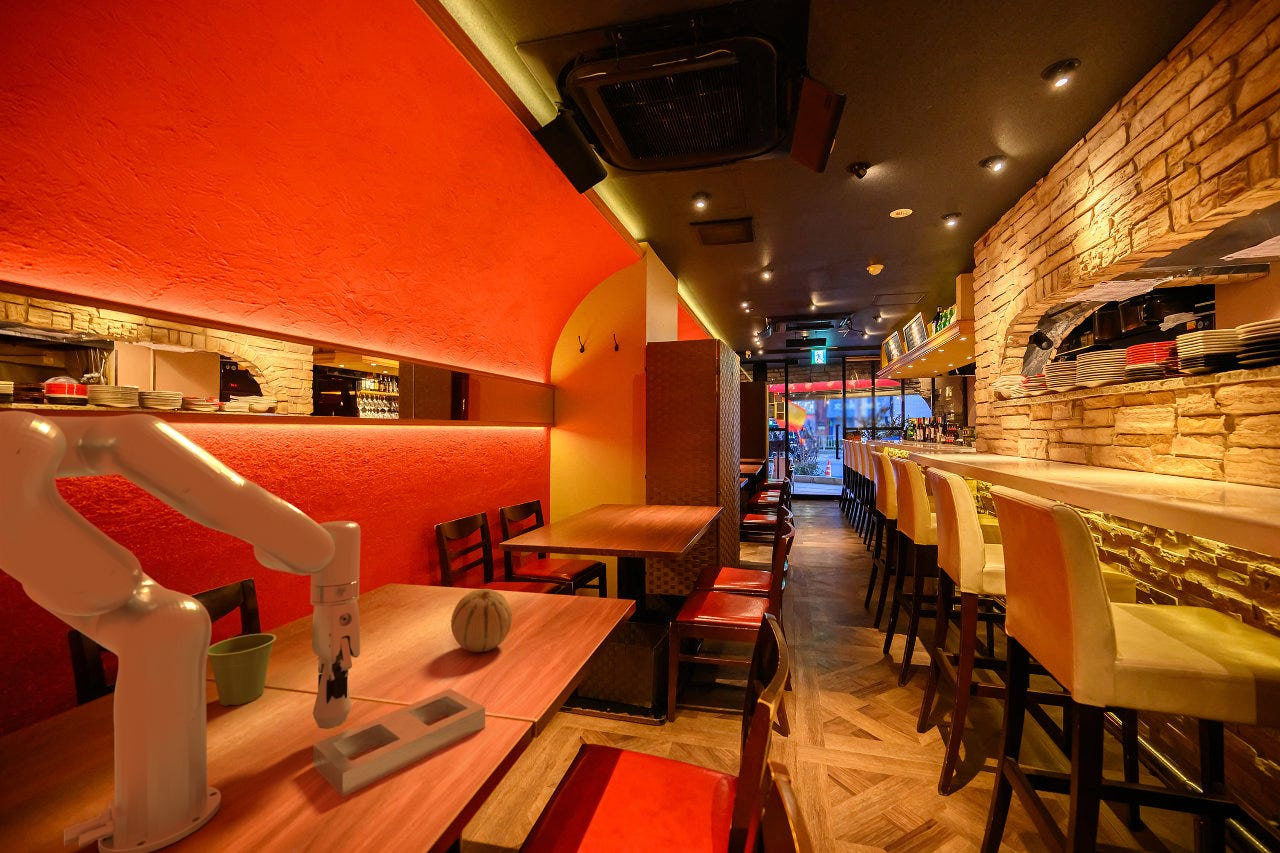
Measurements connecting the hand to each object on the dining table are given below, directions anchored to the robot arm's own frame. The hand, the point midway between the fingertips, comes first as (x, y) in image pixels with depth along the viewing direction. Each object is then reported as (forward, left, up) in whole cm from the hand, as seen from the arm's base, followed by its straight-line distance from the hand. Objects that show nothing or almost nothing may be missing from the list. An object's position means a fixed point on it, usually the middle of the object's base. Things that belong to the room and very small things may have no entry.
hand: (332, 697), depth 94 cm
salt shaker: (0, 0, -5) cm, 5 cm away
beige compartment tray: (+7, -12, -7) cm, 16 cm away
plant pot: (-6, +32, -8) cm, 34 cm away
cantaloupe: (+39, +14, -8) cm, 42 cm away
